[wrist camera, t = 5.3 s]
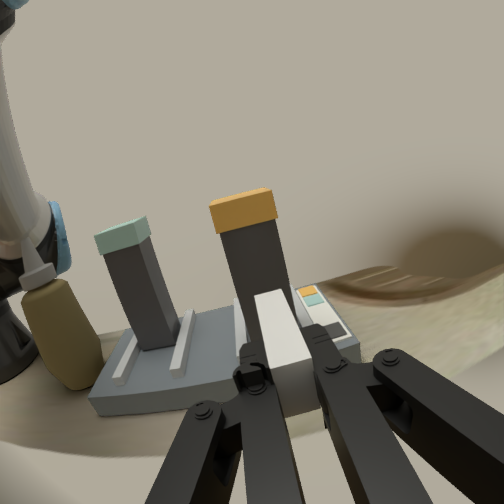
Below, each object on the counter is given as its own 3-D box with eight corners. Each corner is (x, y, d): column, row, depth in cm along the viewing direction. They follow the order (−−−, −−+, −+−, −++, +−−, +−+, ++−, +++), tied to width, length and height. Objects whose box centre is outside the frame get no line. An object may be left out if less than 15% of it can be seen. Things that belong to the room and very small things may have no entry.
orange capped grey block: (254, 361, 24) (209, 206, 20) (250, 335, 28) (212, 200, 24) (305, 347, 24) (271, 190, 20) (295, 323, 28) (264, 187, 24)
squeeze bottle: (66, 368, 33) (12, 244, 28) (115, 353, 35) (63, 223, 30) (55, 402, 25) (-17, 257, 20) (111, 388, 27) (41, 230, 23)
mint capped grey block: (140, 351, 29) (93, 235, 25) (149, 331, 33) (110, 227, 30) (177, 344, 29) (133, 222, 26) (182, 324, 33) (145, 215, 30)
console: (99, 415, 23) (82, 389, 22) (133, 344, 36) (122, 322, 35) (361, 365, 23) (358, 332, 22) (318, 301, 37) (313, 275, 36)
